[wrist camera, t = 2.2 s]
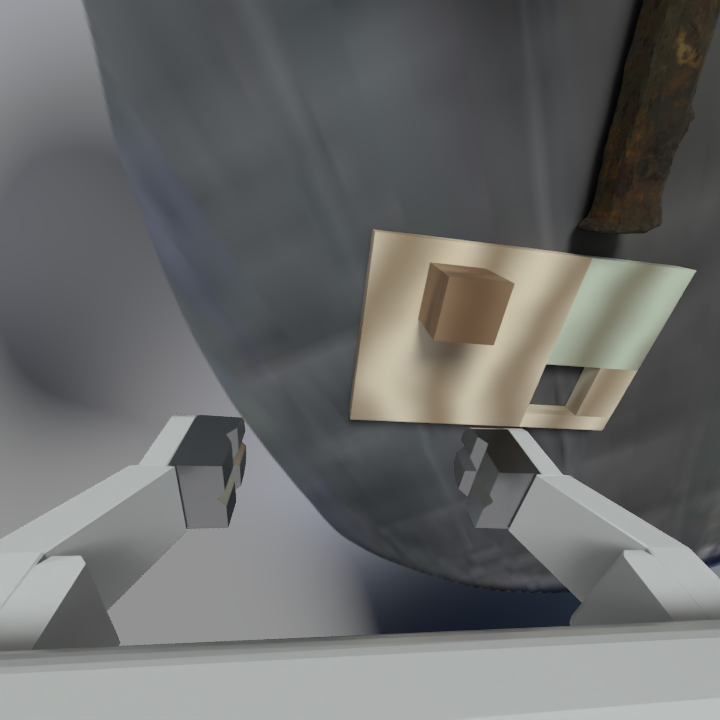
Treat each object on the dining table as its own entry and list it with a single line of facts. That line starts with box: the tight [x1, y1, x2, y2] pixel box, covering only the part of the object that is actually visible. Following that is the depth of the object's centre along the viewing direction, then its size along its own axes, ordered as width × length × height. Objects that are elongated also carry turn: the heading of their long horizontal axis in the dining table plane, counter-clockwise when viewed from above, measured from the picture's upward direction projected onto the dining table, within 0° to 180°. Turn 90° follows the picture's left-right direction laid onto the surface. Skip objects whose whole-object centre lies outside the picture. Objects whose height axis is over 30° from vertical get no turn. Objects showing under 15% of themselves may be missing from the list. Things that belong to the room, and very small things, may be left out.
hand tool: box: [579, 0, 720, 234], centre depth 17 cm, size 19×4×5 cm, turn 2°
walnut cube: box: [418, 262, 515, 345], centre depth 21 cm, size 4×4×4 cm
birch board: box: [349, 229, 696, 430], centre depth 26 cm, size 24×15×2 cm, turn 83°
